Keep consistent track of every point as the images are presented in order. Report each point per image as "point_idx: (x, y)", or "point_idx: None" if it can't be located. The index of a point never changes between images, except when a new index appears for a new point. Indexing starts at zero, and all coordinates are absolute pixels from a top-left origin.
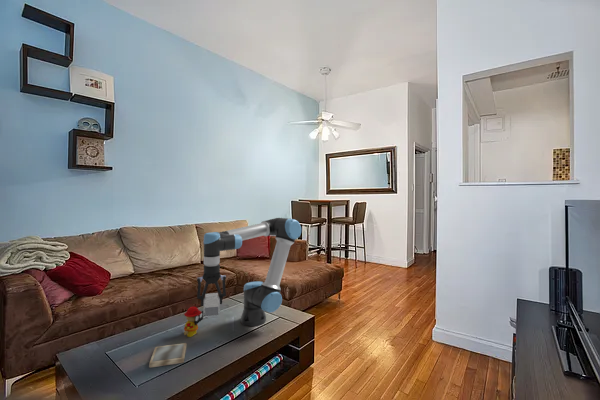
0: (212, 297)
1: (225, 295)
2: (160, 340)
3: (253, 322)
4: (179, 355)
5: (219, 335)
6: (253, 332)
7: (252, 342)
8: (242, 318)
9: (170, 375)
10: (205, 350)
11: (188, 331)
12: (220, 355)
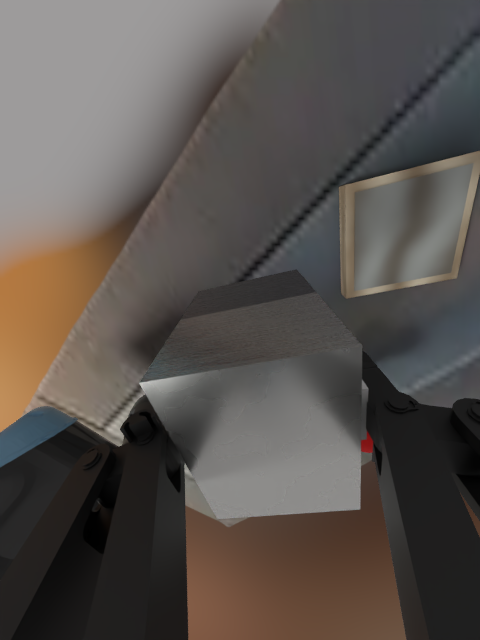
0: (244, 413)
1: (85, 455)
2: (428, 337)
3: None
4: (364, 205)
5: None
6: (149, 361)
7: (133, 306)
8: None
9: (380, 83)
10: (274, 267)
11: None
12: (215, 231)
